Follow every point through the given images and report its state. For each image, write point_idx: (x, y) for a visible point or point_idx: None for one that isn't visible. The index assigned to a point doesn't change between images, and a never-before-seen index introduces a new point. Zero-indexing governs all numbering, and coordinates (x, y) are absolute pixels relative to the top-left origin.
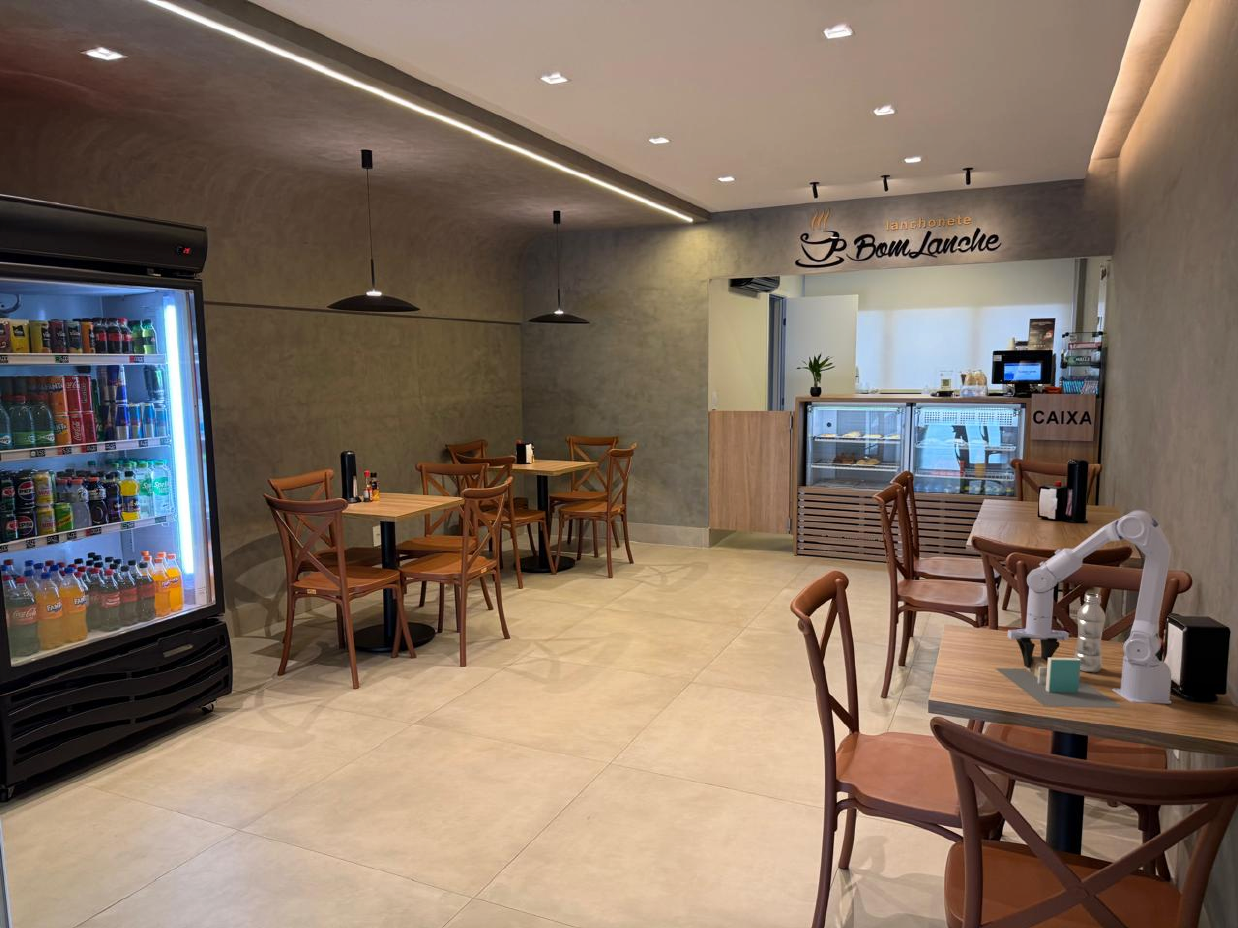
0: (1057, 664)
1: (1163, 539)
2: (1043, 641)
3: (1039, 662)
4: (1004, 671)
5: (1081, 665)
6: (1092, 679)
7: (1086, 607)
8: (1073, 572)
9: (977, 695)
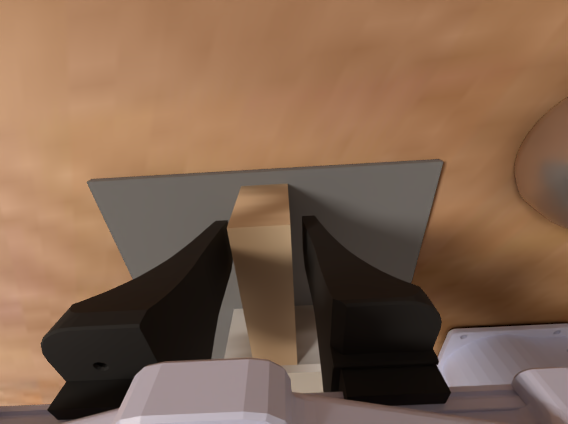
0: None
1: None
2: (327, 338)
3: (247, 328)
4: (130, 219)
5: (529, 196)
6: (478, 245)
7: None
8: None
9: (44, 378)
